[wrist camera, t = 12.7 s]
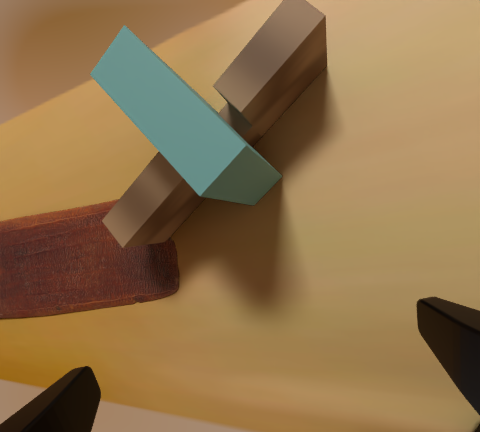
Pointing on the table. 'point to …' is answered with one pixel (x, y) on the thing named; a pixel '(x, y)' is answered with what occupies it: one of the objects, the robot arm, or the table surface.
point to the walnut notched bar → (230, 118)
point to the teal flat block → (182, 124)
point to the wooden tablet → (77, 265)
